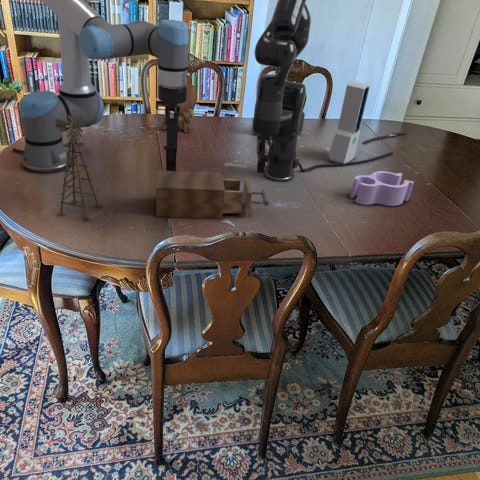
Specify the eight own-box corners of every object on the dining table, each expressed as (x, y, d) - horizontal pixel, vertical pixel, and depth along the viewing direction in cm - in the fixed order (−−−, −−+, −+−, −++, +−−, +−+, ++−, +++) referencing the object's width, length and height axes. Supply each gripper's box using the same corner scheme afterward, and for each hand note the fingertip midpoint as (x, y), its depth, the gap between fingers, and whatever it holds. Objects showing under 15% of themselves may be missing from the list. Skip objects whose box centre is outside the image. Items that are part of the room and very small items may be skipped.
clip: (362, 208, 153) (367, 189, 149) (343, 191, 163) (348, 173, 159) (412, 204, 159) (418, 185, 156) (392, 187, 169) (397, 170, 165)
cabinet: (220, 200, 149) (222, 173, 144) (222, 218, 140) (224, 190, 134) (158, 198, 146) (158, 170, 141) (156, 216, 137) (156, 187, 132)
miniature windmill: (85, 220, 131) (75, 116, 115) (58, 214, 132) (43, 110, 116) (100, 205, 139) (92, 105, 123) (74, 200, 140) (62, 101, 124)
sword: (401, 132, 223) (402, 129, 222) (407, 134, 221) (407, 131, 220) (358, 143, 207) (358, 140, 206) (363, 145, 205) (364, 143, 204)
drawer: (263, 200, 150) (266, 179, 146) (268, 216, 141) (271, 193, 137) (187, 197, 147) (188, 175, 142) (187, 213, 138) (188, 190, 134)
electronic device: (344, 166, 181) (362, 88, 165) (326, 160, 185) (342, 83, 168) (355, 157, 191) (373, 82, 174) (338, 152, 194) (354, 78, 177)
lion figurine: (191, 127, 202) (192, 107, 197) (195, 131, 198) (195, 111, 193) (158, 128, 197) (158, 107, 192) (160, 133, 193) (160, 111, 188)
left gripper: (187, 100, 113) (184, 180, 124) (187, 74, 133) (185, 144, 145) (155, 98, 112) (156, 178, 123) (160, 72, 132) (160, 143, 144)
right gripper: (284, 123, 124) (276, 182, 134) (277, 108, 135) (269, 163, 145) (257, 122, 123) (250, 181, 133) (251, 106, 134) (245, 162, 144)
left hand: (171, 160), depth 134 cm, fingers open, 13 cm apart
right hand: (260, 172), depth 139 cm, fingers closed
